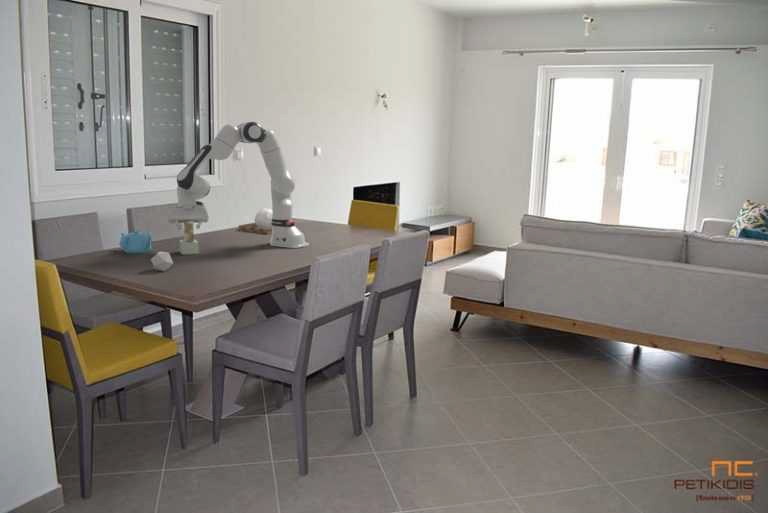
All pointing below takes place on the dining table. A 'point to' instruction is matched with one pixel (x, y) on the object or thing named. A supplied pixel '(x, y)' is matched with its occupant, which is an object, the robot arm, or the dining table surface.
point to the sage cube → (189, 247)
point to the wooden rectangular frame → (254, 228)
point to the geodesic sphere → (264, 218)
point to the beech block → (188, 231)
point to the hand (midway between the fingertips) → (188, 228)
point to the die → (162, 261)
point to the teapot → (135, 242)
